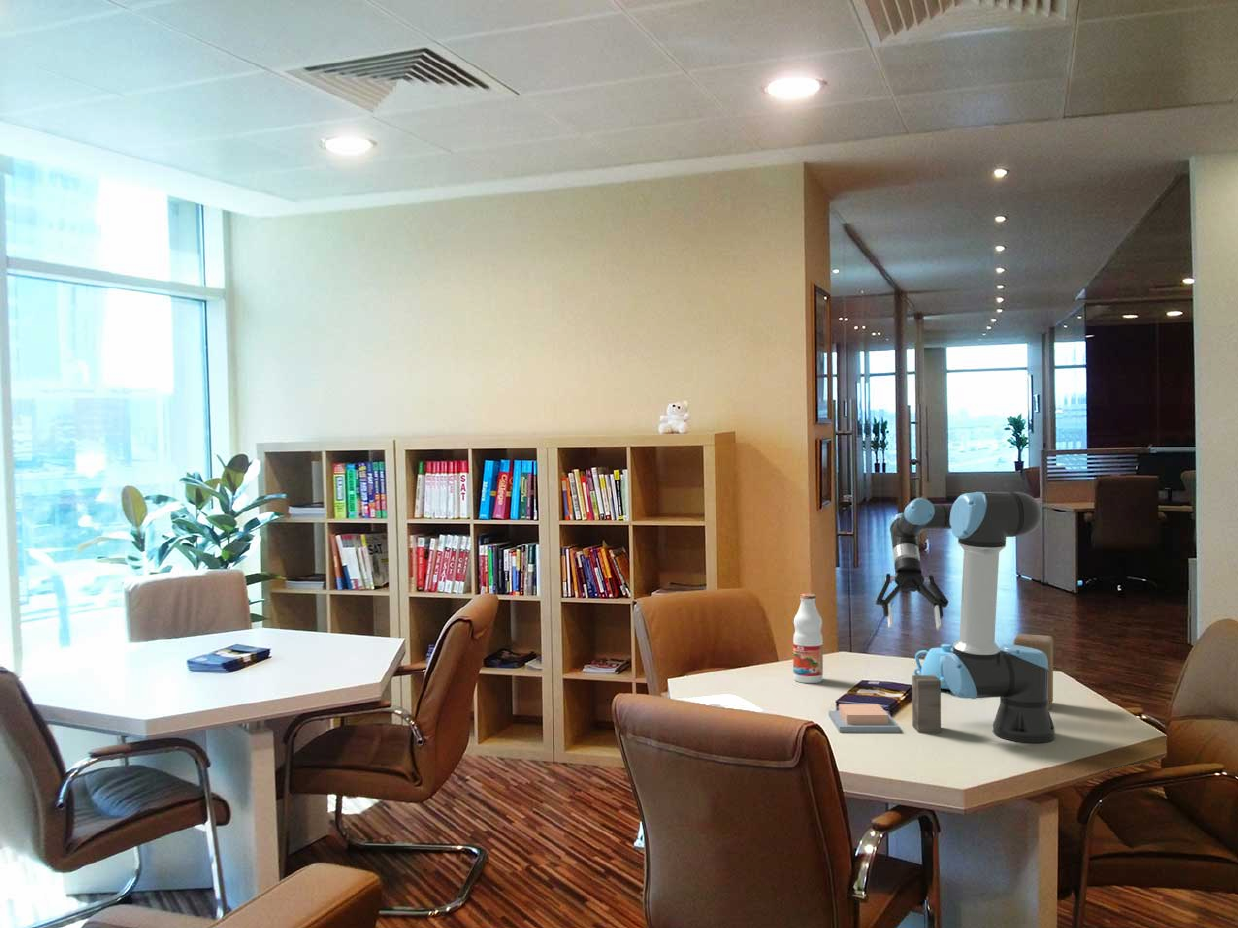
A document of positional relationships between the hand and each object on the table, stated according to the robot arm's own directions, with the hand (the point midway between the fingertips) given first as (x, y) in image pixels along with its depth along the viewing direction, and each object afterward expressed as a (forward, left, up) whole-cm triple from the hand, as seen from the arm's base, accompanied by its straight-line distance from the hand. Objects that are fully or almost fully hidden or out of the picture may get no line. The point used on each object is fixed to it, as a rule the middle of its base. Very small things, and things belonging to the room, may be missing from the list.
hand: (914, 627), depth 284 cm
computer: (+13, +56, -25) cm, 62 cm away
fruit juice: (+43, +14, -25) cm, 52 cm away
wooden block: (-2, -37, -25) cm, 45 cm away
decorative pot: (+23, -24, -25) cm, 42 cm away
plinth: (-7, +20, -24) cm, 32 cm away
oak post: (-16, +6, -25) cm, 30 cm away
